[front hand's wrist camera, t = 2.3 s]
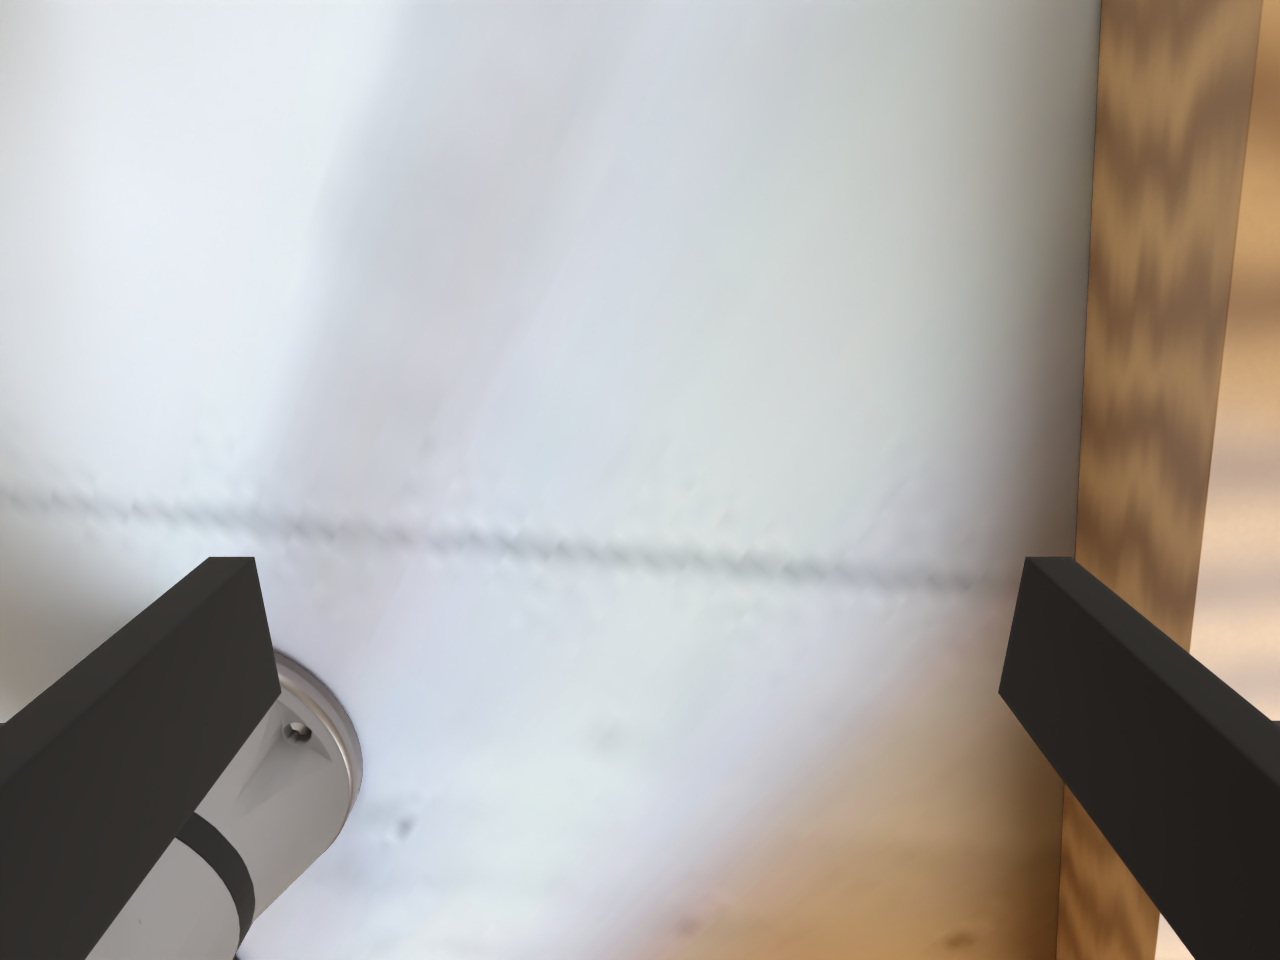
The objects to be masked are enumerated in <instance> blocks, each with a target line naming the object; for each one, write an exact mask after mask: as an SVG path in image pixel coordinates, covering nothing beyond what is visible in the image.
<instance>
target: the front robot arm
mask: <svg viewBox="0 0 1280 960" xmlns="http://www.w3.org/2000/svg"><path fill="white" fill-rule="evenodd" d="M998 693H999V694H1000V696H1001V697H1002V698H1003V700H1004V701H1005V702H1006V704H1007V705H1008V706H1009V708H1010V709H1011V711H1012V712H1013V713H1014V715H1015V716H1016V717H1017V719H1018V720H1019V721H1020V723H1021V724H1022V725H1023V727H1024V728H1025V730H1026V731H1027V732H1028V734H1029V735H1030V736H1031V738H1032V739H1033V740H1034V742H1035V743H1036V744H1037V746H1038V747H1039V749H1040V750H1041V751H1042V753H1043V754H1044V755H1045V757H1046V758H1047V759H1048V761H1049V762H1050V763H1051V765H1052V766H1053V768H1054V769H1055V770H1056V772H1057V773H1058V774H1059V776H1060V777H1061V778H1062V780H1063V781H1064V782H1065V784H1066V785H1067V787H1068V788H1069V789H1070V791H1071V792H1072V793H1073V795H1074V796H1075V797H1076V799H1077V800H1078V801H1079V803H1080V804H1081V806H1082V807H1083V808H1084V810H1085V811H1086V812H1087V814H1088V815H1089V816H1090V818H1091V819H1092V821H1093V822H1094V823H1095V825H1096V826H1097V827H1098V829H1099V830H1100V831H1101V833H1102V834H1103V835H1104V837H1105V838H1106V840H1107V841H1108V842H1109V844H1110V845H1111V846H1112V848H1113V849H1114V850H1115V852H1116V853H1117V854H1118V856H1119V857H1120V859H1121V860H1122V861H1123V863H1124V864H1125V865H1126V867H1127V868H1128V869H1129V871H1130V872H1131V873H1132V875H1133V876H1134V878H1135V879H1136V880H1137V882H1138V883H1139V884H1140V886H1141V887H1142V888H1143V890H1144V891H1145V892H1146V894H1147V895H1148V897H1149V898H1150V899H1151V901H1152V902H1153V903H1154V905H1155V906H1156V907H1157V909H1158V910H1159V911H1160V913H1161V914H1162V916H1163V917H1164V918H1165V920H1166V921H1167V922H1168V924H1169V925H1170V926H1171V928H1172V929H1173V930H1174V932H1175V933H1176V935H1177V936H1178V937H1179V939H1180V940H1181V941H1182V943H1183V944H1184V945H1185V947H1186V948H1187V949H1188V951H1189V952H1190V954H1191V955H1192V956H1193V958H1194V959H1195V960H1280V721H1272V720H1270V719H1269V718H1268V717H1267V716H1265V715H1264V714H1263V713H1262V712H1260V711H1259V710H1258V709H1257V708H1256V707H1254V706H1253V705H1252V704H1251V703H1249V702H1248V701H1247V700H1246V699H1245V698H1243V697H1242V696H1241V695H1240V694H1238V693H1237V692H1236V691H1235V690H1233V689H1232V688H1231V687H1230V686H1229V685H1227V684H1226V683H1225V682H1224V681H1222V680H1221V679H1220V678H1219V677H1217V676H1216V675H1215V674H1214V673H1213V672H1211V671H1210V670H1209V669H1208V668H1206V667H1205V666H1204V665H1203V664H1202V663H1200V662H1199V661H1198V660H1197V659H1195V658H1194V657H1193V656H1192V655H1190V654H1189V653H1188V652H1187V651H1186V650H1184V649H1183V648H1182V647H1181V646H1179V645H1178V644H1177V643H1176V642H1175V641H1173V640H1172V639H1171V638H1170V637H1168V636H1167V635H1166V634H1165V633H1163V632H1162V631H1161V630H1160V629H1159V628H1157V627H1156V626H1155V625H1154V624H1152V623H1151V622H1150V621H1149V620H1148V619H1146V618H1145V617H1144V616H1143V615H1141V614H1140V613H1139V612H1138V611H1136V610H1135V609H1134V608H1133V607H1132V606H1130V605H1129V604H1128V603H1127V602H1125V601H1124V600H1123V599H1122V598H1121V597H1119V596H1118V595H1117V594H1116V593H1114V592H1113V591H1112V590H1111V589H1109V588H1108V587H1107V586H1106V585H1105V584H1103V583H1102V582H1101V581H1100V580H1098V579H1097V578H1096V577H1095V576H1094V575H1092V574H1091V573H1090V572H1089V571H1087V570H1086V569H1085V568H1084V567H1082V566H1081V565H1080V564H1079V563H1078V562H1076V561H1075V560H1074V559H1073V558H1071V557H1026V558H1025V563H1024V568H1023V573H1022V578H1021V583H1020V588H1019V593H1018V598H1017V603H1016V607H1015V612H1014V617H1013V622H1012V627H1011V632H1010V637H1009V642H1008V647H1007V652H1006V657H1005V662H1004V667H1003V672H1002V677H1001V682H1000V687H999V691H998ZM362 773H363V760H362V753H361V747H360V743H359V740H358V737H357V734H356V731H355V729H354V726H353V724H352V723H351V721H350V719H349V717H348V715H347V713H346V712H345V710H344V709H343V707H342V706H341V704H340V703H339V702H338V701H337V699H336V698H335V697H334V696H333V694H332V693H331V692H330V691H329V690H328V689H327V688H326V687H325V686H324V685H323V684H322V683H321V682H320V681H319V680H317V679H316V678H315V677H314V676H313V675H312V674H310V673H309V672H308V671H306V670H305V669H304V668H302V667H301V666H299V665H298V664H296V663H294V662H293V661H291V660H290V659H288V658H286V657H284V656H282V655H280V654H278V653H277V652H274V651H273V647H272V642H271V637H270V632H269V627H268V622H267V617H266V612H265V607H264V603H263V598H262V593H261V588H260V583H259V578H258V573H257V568H256V563H255V558H254V557H209V558H207V559H206V560H205V561H204V562H202V563H201V564H200V565H199V566H198V567H196V568H195V569H194V570H193V571H191V572H190V573H189V574H188V575H186V576H185V577H184V578H183V579H182V580H180V581H179V582H178V583H177V584H175V585H174V586H173V587H172V588H171V589H169V590H168V591H167V592H166V593H164V594H163V595H162V596H161V597H159V598H158V599H157V600H156V601H155V602H153V603H152V604H151V605H150V606H148V607H147V608H146V609H145V610H144V611H142V612H141V613H140V614H139V615H137V616H136V617H135V618H134V619H132V620H131V621H130V622H129V623H128V624H126V625H125V626H124V627H123V628H121V629H120V630H119V631H118V632H117V633H115V634H114V635H113V636H112V637H110V638H109V639H108V640H107V641H105V642H104V643H103V644H102V645H101V646H99V647H98V648H97V649H96V650H94V651H93V652H92V653H91V654H90V655H88V656H87V657H86V658H85V659H83V660H82V661H81V662H80V663H78V664H77V665H76V666H75V667H74V668H72V669H71V670H70V671H69V672H67V673H66V674H65V675H64V676H63V677H61V678H60V679H59V680H58V681H56V682H55V683H54V684H53V685H51V686H50V687H49V688H48V689H47V690H45V691H44V692H43V693H42V694H40V695H39V696H38V697H37V698H36V699H34V700H33V701H32V702H31V703H29V704H28V705H27V706H26V707H24V708H23V709H22V710H21V711H20V712H18V713H17V714H16V715H15V716H13V717H12V718H11V719H10V720H8V721H7V722H6V723H0V960H237V958H236V957H235V954H236V952H237V950H238V948H239V946H240V945H241V943H242V941H243V939H244V937H245V935H246V934H247V932H248V930H249V929H250V927H251V925H252V923H253V922H254V920H255V919H256V918H257V917H258V916H259V915H260V914H261V913H262V912H263V911H264V910H265V909H266V908H267V907H268V906H269V905H271V904H272V903H273V902H274V901H275V900H276V899H277V898H278V897H279V896H280V895H281V894H282V893H283V892H284V891H285V890H286V889H287V888H288V887H289V886H290V885H291V884H292V883H293V882H294V881H295V880H296V879H297V878H298V877H299V876H300V875H301V874H302V873H303V872H304V871H305V870H306V869H307V868H308V867H309V866H310V865H311V864H312V863H313V862H314V861H315V860H316V859H317V858H318V857H319V856H320V855H321V854H322V853H324V852H325V851H326V850H327V849H328V848H329V846H330V845H331V844H332V843H333V842H334V841H335V839H336V838H337V836H338V835H339V833H340V831H341V830H342V828H343V826H344V824H345V822H346V820H347V818H348V815H349V813H350V811H351V809H352V807H353V805H354V803H355V801H356V798H357V796H358V793H359V790H360V786H361V782H362Z"/></svg>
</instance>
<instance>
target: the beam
mask: <svg viewBox="0 0 1280 960" xmlns="http://www.w3.org/2000/svg"><path fill="white" fill-rule="evenodd" d="M1075 561H1076V562H1078V563H1079V564H1080V565H1081V566H1082V567H1084V568H1085V569H1086V570H1087V571H1089V572H1090V573H1091V574H1092V575H1094V576H1095V577H1096V578H1097V579H1098V580H1100V581H1101V582H1102V583H1103V584H1105V585H1106V586H1107V587H1108V588H1109V589H1111V590H1112V591H1113V592H1114V593H1116V594H1117V595H1118V596H1119V597H1121V598H1122V599H1123V600H1124V601H1125V602H1127V603H1128V604H1129V605H1130V606H1132V607H1133V608H1134V609H1135V610H1136V611H1138V612H1139V613H1140V614H1141V615H1143V616H1144V617H1145V618H1146V619H1148V620H1149V621H1150V622H1151V623H1152V624H1154V625H1155V626H1156V627H1157V628H1159V629H1160V630H1161V631H1162V632H1163V633H1165V634H1166V635H1167V636H1168V637H1170V638H1171V639H1172V640H1173V641H1175V642H1176V643H1177V644H1178V645H1179V646H1181V647H1182V648H1183V649H1184V650H1186V651H1187V652H1188V653H1189V654H1190V655H1192V656H1193V657H1194V658H1195V659H1197V660H1198V661H1199V662H1200V663H1202V664H1203V665H1204V666H1205V667H1206V668H1208V669H1209V670H1210V671H1211V672H1213V673H1214V674H1215V675H1216V676H1217V677H1219V678H1220V679H1221V680H1222V681H1224V682H1225V683H1226V684H1227V685H1229V686H1230V687H1231V688H1232V689H1233V690H1235V691H1236V692H1237V693H1238V694H1240V695H1241V696H1242V697H1243V698H1245V699H1246V700H1247V701H1248V702H1249V703H1251V704H1252V705H1253V706H1254V707H1256V708H1257V709H1258V710H1259V711H1260V712H1262V713H1263V714H1264V715H1265V716H1267V717H1268V718H1269V719H1270V720H1272V721H1280V0H1102V8H1101V29H1100V50H1099V71H1098V92H1097V113H1096V134H1095V155H1094V176H1093V197H1092V218H1091V239H1090V260H1089V281H1088V302H1087V323H1086V344H1085V364H1084V385H1083V406H1082V427H1081V448H1080V469H1079V490H1078V511H1077V532H1076V553H1075ZM1056 960H1195V959H1194V958H1193V956H1192V955H1191V954H1190V952H1189V951H1188V949H1187V948H1186V947H1185V945H1184V944H1183V943H1182V941H1181V940H1180V939H1179V937H1178V936H1177V935H1176V933H1175V932H1174V930H1173V929H1172V928H1171V926H1170V925H1169V924H1168V922H1167V921H1166V920H1165V918H1164V917H1163V916H1162V914H1161V913H1160V911H1159V910H1158V909H1157V907H1156V906H1155V905H1154V903H1153V902H1152V901H1151V899H1150V898H1149V897H1148V895H1147V894H1146V892H1145V891H1144V890H1143V888H1142V887H1141V886H1140V884H1139V883H1138V882H1137V880H1136V879H1135V878H1134V876H1133V875H1132V873H1131V872H1130V871H1129V869H1128V868H1127V867H1126V865H1125V864H1124V863H1123V861H1122V860H1121V859H1120V857H1119V856H1118V854H1117V853H1116V852H1115V850H1114V849H1113V848H1112V846H1111V845H1110V844H1109V842H1108V841H1107V840H1106V838H1105V837H1104V835H1103V834H1102V833H1101V831H1100V830H1099V829H1098V827H1097V826H1096V825H1095V823H1094V822H1093V821H1092V819H1091V818H1090V816H1089V815H1088V814H1087V812H1086V811H1085V810H1084V808H1083V807H1082V806H1081V804H1080V803H1079V801H1078V800H1077V799H1076V797H1075V796H1074V795H1073V793H1072V792H1071V791H1070V789H1069V788H1068V787H1067V785H1066V784H1064V805H1063V826H1062V847H1061V868H1060V888H1059V909H1058V930H1057V951H1056Z"/></svg>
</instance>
